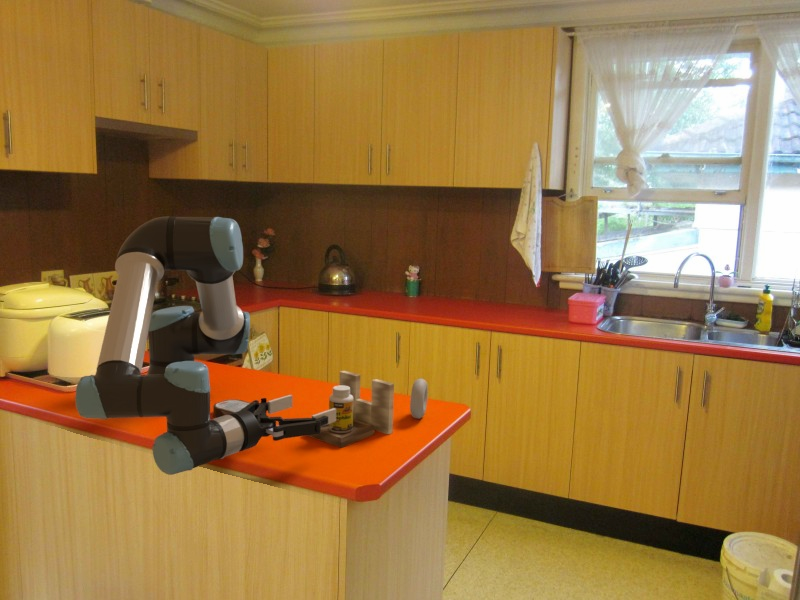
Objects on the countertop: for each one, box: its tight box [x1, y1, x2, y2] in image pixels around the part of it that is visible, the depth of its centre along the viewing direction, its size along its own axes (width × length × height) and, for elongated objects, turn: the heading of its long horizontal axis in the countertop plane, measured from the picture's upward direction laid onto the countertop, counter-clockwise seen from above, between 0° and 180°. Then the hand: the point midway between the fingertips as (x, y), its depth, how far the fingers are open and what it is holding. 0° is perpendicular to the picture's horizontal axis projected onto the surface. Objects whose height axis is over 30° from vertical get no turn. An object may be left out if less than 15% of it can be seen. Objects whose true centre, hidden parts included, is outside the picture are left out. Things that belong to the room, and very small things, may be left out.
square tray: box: [306, 419, 375, 448], centre depth 152 cm, size 11×11×2 cm
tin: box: [212, 398, 251, 419], centre depth 162 cm, size 15×3×8 cm
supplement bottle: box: [328, 384, 353, 434], centre depth 151 cm, size 6×6×10 cm
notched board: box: [338, 370, 395, 435], centre depth 157 cm, size 16×2×12 cm, turn 51°
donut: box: [409, 378, 429, 419], centre depth 164 cm, size 10×4×10 cm, turn 170°
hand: (312, 407), depth 143 cm, fingers open, 13 cm apart
